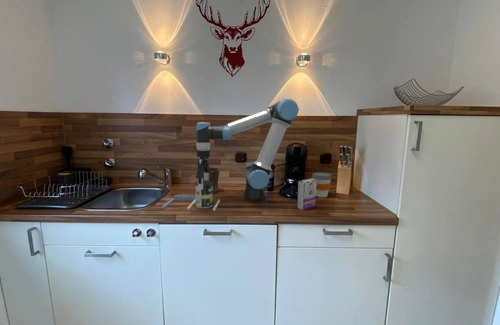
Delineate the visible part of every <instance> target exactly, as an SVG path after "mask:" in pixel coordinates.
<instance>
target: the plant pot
mask: <svg viewBox="0 0 500 325" xmlns="http://www.w3.org/2000/svg"><path fill="white" fill-rule="evenodd" d="M209 171H210V173H209V172H208V173H209V181H212V182H213V194H215V193H217V192H218V189H219V187H218V186H219V176H220V171H221V168H219V167H209ZM204 173H205V172H204V171H203V177H202V178H203V180H204Z"/></svg>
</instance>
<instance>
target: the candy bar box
mask: <svg viewBox="0 0 500 325" xmlns="http://www.w3.org/2000/svg"><path fill="white" fill-rule="evenodd" d="M316 192H317V180H316V179H313V178H307V179H301V180H299V181H298V180H297V209H299V210H302V211H306V210H309V209H312V208H315V207H316V206H317V196H316Z"/></svg>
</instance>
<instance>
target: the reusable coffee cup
mask: <svg viewBox="0 0 500 325" xmlns="http://www.w3.org/2000/svg"><path fill="white" fill-rule="evenodd" d="M311 177H312V179H316V180H317V192H316V197H317V196H318V198H327V197H328V195H329V190H330V189H331V183H332V182H331V180H332V173H329V172H323V171H322V172H321V171H315V172H313V173H312V176H311Z"/></svg>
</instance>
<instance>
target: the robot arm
mask: <svg viewBox="0 0 500 325" xmlns="http://www.w3.org/2000/svg"><path fill="white" fill-rule="evenodd" d="M299 108H300V107H299V105H298V103H297V102H296V101H295V100H294V99H291V98H284V99H281V100H279V101H278V102H276V103H275V104H272V105H270V106H268V107H265V110H261V111H259V112H256V113H253V114H250V115H247V116H245V117H242V118H239V119H236V120H233V121H230V122H229V123H226V124H223V125H219V126H217V125H215V126H214V125H211V123H210V122H208V121H207V122H203V121H201V122H200V121H199V122H197V123H196V128H195V130H196V132H195V133H196V135H195V136H196V144H195V146H196V149H197V150H196V157H197V158H199V159H198V160H197V169H196V176H195V178H196V179H197V181H198V189H201V190H203V178H202V177H203V171H204V172H205V173H204V180H208V181H209V173H210V171H209V168H210V165H209V157H211V150H210V149H211V140H220V141H221V140H224V141H230V140H231V139H232V136H233V135H236V134H238V133H241V132H244V131H247V130H249V129H253V128H255V127H258V126H261V125H265V124H266V123H267V124H268V123H271V125H270V128H269V131H268V132H267V135H266V138H265V140H264V143H263V145H262V147H261V150H260V152H259V155H258V157H257V160H255V161H254V162H247V163H246V164H245V187H244V190H243V194H242V199H244V200H246V201H250V202H258V201H264V200H266V198H267V194H266V190H265V188H266V187H267V186H268V184H269V182H270V175H271V172H272V171H273V170H272V167H271V165H272V163H273V161H274V160H275V156H276V155H277V152H278V149H279V147H280V145H281V143H282V140H283V138H284V136H285V133H286V130H287V129H288V128H290V127H291V125H292V123H293V121H294V119H296V118H297V116H298V114H299ZM208 172H209V173H208Z"/></svg>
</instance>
